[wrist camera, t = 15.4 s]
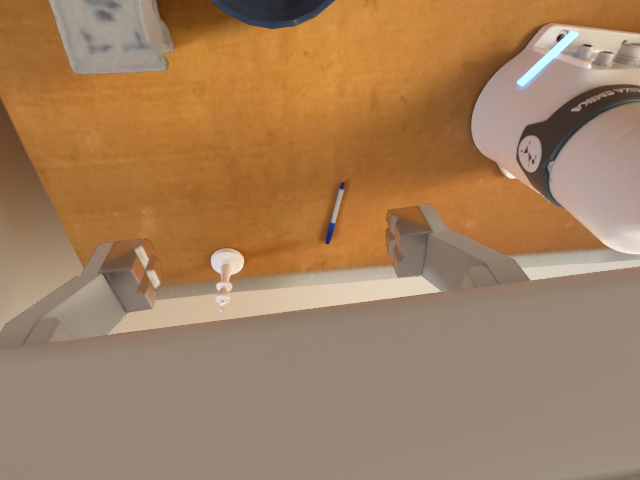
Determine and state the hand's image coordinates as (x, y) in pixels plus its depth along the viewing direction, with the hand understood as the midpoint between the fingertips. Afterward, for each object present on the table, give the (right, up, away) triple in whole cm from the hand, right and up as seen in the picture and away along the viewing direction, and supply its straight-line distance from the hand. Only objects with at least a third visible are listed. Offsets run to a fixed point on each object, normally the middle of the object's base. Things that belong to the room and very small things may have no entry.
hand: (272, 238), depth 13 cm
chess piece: (-13, -3, +44) cm, 46 cm away
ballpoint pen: (+4, +4, +40) cm, 41 cm away
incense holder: (-16, +23, +22) cm, 36 cm away
